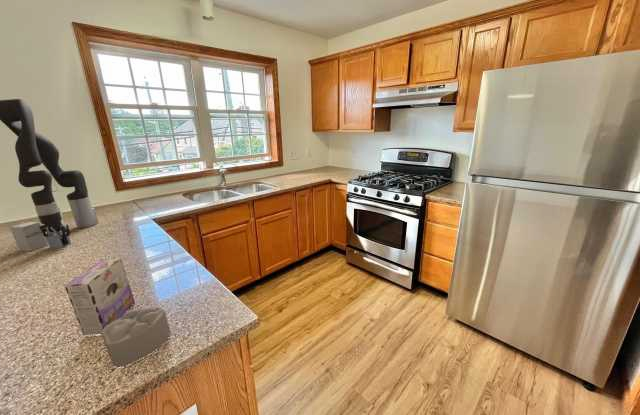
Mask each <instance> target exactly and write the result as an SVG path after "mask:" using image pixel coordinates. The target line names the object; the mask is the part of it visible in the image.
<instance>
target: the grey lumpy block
mask: <svg viewBox="0 0 640 415" xmlns="http://www.w3.org/2000/svg"><path fill="white" fill-rule="evenodd" d="M169 334H171V329H170V326H169V322H168V318H167V315H166V311H165V309H164V308H163V307H160V306H153V307H151V306H150V307H146V308H140V309H138V310H137V309H129V310H128V311H127V312H125V313H124V314H123V315H122V317H121V318H119V319H117V320H115V321H113V322H111V323H110V324H108V325H107V326H106V327H105V328H104V329H103V330H102V331H101V335H102V336H101V337H102V341H103V343H104V344H103V345H104V346H105V349H106V351H107V352H106V353H107V354H108V357H109V356H110V357H111V358H110V357H109V358H110V359H111V362H112V365H113V367H114V366H116V367H120V366H121V367H122V366H126V365H128V364H130V363H133V362H134V361H137V360H139V359H141V358H143V357H145V356H147V355H148V354H150V353H152V352H153V351H155V350H156V349H158V348H159V347H160V346H161V345H162V344H163V343H164V342H165V341H166V339H167V338H168V336H169V337H170V335H169ZM168 339H169V338H168ZM168 339H167V340H168ZM166 342H167V341H166ZM166 342H165V343H166ZM165 343H164V344H165ZM164 344H163V345H164ZM163 345H162V346H163ZM162 346H161V347H162ZM161 347H160V348H161ZM160 348H159V349H160ZM159 349H158V350H159ZM155 352H156V351H155ZM152 354H153V353H152ZM147 357H148V356H147Z"/></svg>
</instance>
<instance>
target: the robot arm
mask: <svg viewBox="0 0 640 415" xmlns="http://www.w3.org/2000/svg"><path fill="white" fill-rule="evenodd" d="M30 106H31V105H29V104H28V102H26V101H25V100H23V99H22V98H21V99H20V98H15V99H14V98H12V99H1V100H0V121H1V123H2V124H4V125H5V126H6V127H7V128H8V129H9V130H10V131H11V132H12V133H13V134H15V135H16V137H17V139H16V142H15V144H14V150H15V154H16V156H17V159H18V164H19V165H18V166H19V168H18V170H19V171H18V182H19V184H20V185H21V186H22V187H25V188H34V187H42V186H43V189H40V190H37V191H34V192H32V193H31V194H30V197H31V200H32V202H33V205H34V209H35V212H36V214H37V216H38V217H37V218H38V219H39V221H40V222H39V223H40V226H39V228H40V229H41V231H42V233H43V235H44V237H45V238H46V237H47V236H50V235H53V234H56V235H58V236H59V237H60V238H61V241H62V244H63V245H67V244H68V240H67V236H69V237H70V236H71V233H70V227H69V225H68V224H64V225H62V223H61V222H60V221H61V220H62V217H63V216H62V217H61V214H60V211H59V206H58V204H57V202H56V200H55V197H54V195H53V190H52V189H53V187H52V186H53V185H52V184H53V179H54V180H55V182H56V183H57V185H59V186H60V187H63V188H74V191H71V192H70V193H68V194H67V195H66V200H67V201H68V205H69V207H70V208H69V209H70V210H71V213H72V217H73V219H74V222H75V224H76V228H78V229H85V228H90V227H93V226H95V225H97V224H99V219H98V216H97V213H96V211H95V208H94V207H93V206H92V204H91V200H90V197H89V193H88V186H87V183H86V179H85V176H84V174H83V172H82V171H80V170H66V171H65V170H63V168H61V167H60V165H59V161H60V152H59V149H58V148H57V147H56V146H55V144H54V143H53V142H52V141H51V140H50V139H49V138H48V137H46V136H44V135H42V134H40V133H38V132H36V129H35V120H34V114H33V110H32V109H31V107H30ZM41 165H43V166H44V167H45V169H46V170H45V169H44V170H43V169H42V170H41V169H39V170H31V171H30V169H32V168H36V167H39V166H41ZM61 233H62V235H61ZM66 233H67V234H66ZM67 246H68V245H67Z"/></svg>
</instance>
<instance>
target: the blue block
mask: <svg viewBox="0 0 640 415" xmlns="http://www.w3.org/2000/svg"><path fill="white" fill-rule="evenodd" d="M66 234H67V233H66ZM61 235H62V233H61ZM45 239H46V242H47V244H48V245H49V248H50V249H62V248H65V247H67V246H69V245H72V241H71V238H70V235H69V236H67V240H68V244H67V245H63V244H62V241H61V238H60V237H59V236H58V235H56V234H53V235H50V236H47V237H45Z"/></svg>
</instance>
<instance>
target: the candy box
mask: <svg viewBox="0 0 640 415" xmlns="http://www.w3.org/2000/svg"><path fill="white" fill-rule="evenodd" d="M64 289H65V290H66V293H67V296H68V298H69V301H70V304H71V306H72V309H73V311H74V313H75V317H76V319H77V322H78V325H79V327H80V328H81V332H82V334H83V336H84V335H89V334H90V335H91V334H101V331H102V330H103V329H104V328H105V327H106V326H107V325H108V324H110V323H111V322H113V321H115V320H117V319H119V318H121V317H122V315H123V314H124V313H125V312H126V311H127V310H128V309H129V308H130V307H131V306H132V307H133V305H134V304H135V303H136V302H135V298H134V295H133V292H132V289H131V286H130V282H129V280H128V276H127V273H126V270H125V267H124V264H123V261H122V258H121V257H120V258H119V257H117V258H110V259H107V258H106V259H101V260H100V261H98V262H97V263H95V264H94V265H93V266H91V267H89V268H88V269H86V270H85V271H84V272H83V273H81V274H80V275H79V276H77V277H75V278H74V279H73V280H71V281H70V282H69V283H67V284H65V285H64ZM132 304H133V305H132ZM132 307H131V308H132ZM131 308H130V309H131ZM130 309H129V310H130ZM129 310H128V311H129Z"/></svg>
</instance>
